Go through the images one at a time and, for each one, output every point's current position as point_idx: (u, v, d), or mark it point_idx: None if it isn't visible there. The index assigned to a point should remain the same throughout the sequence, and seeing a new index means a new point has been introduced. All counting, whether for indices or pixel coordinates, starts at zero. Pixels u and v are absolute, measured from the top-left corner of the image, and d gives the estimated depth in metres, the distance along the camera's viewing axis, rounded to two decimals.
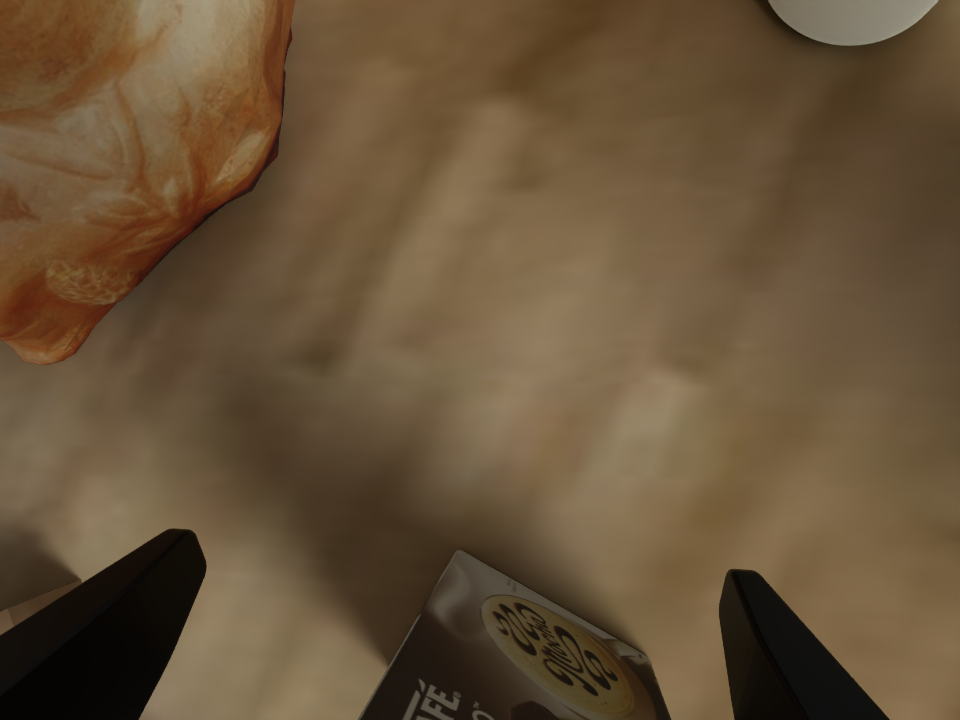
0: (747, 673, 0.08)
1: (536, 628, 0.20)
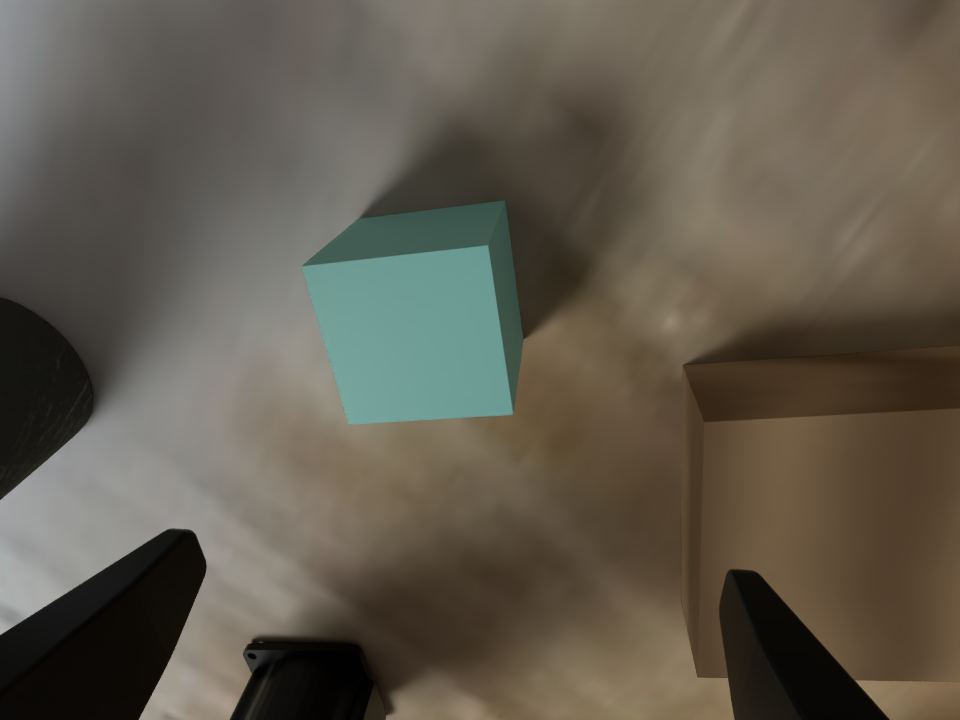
0: (747, 673, 0.08)
1: None
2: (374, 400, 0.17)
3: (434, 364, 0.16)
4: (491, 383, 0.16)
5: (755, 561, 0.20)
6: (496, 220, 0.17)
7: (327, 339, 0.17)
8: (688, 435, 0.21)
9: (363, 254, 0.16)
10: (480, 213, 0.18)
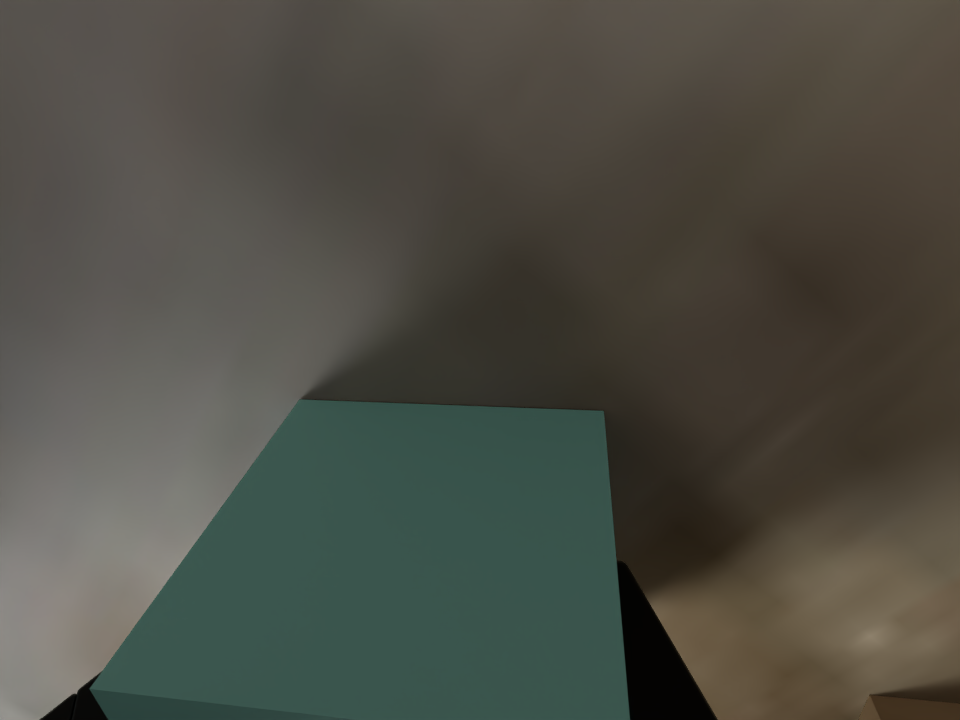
0: None
1: None
2: None
3: None
4: None
5: None
6: (610, 533, 0.07)
7: None
8: None
9: (269, 655, 0.06)
10: (561, 472, 0.08)
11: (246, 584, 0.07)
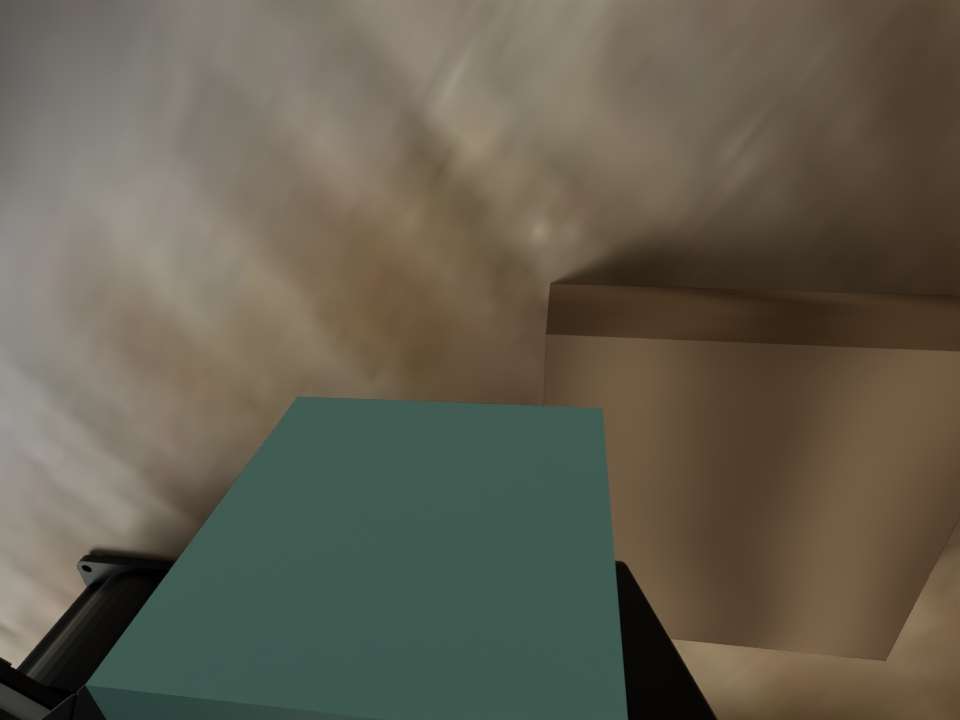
0: None
1: None
2: None
3: None
4: None
5: None
6: (609, 530, 0.07)
7: None
8: None
9: (267, 652, 0.06)
10: (559, 468, 0.08)
11: (243, 581, 0.07)
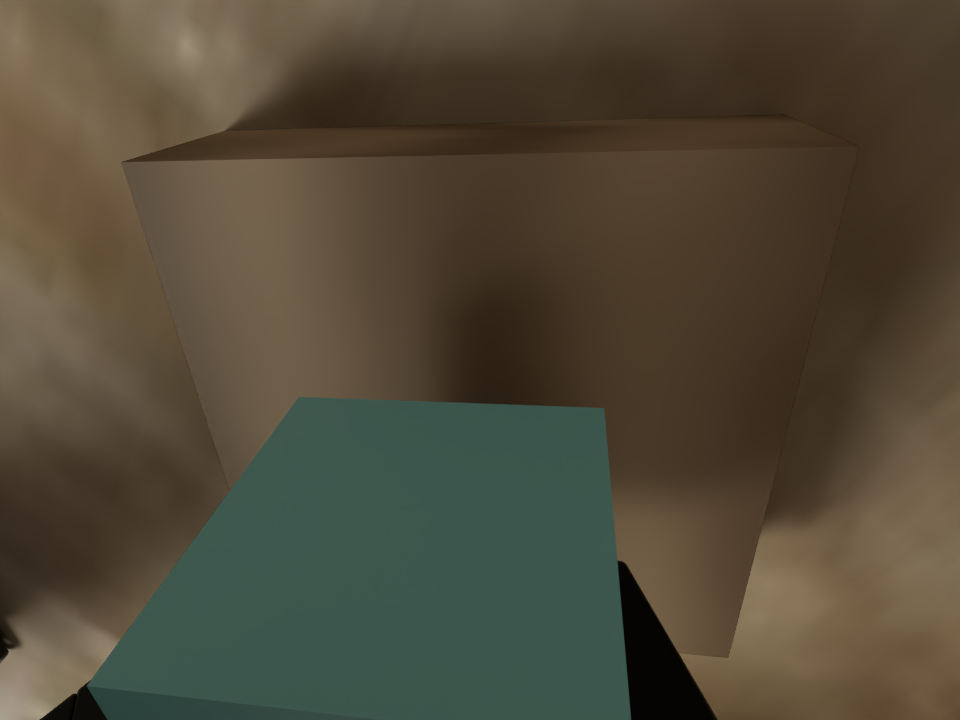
0: None
1: None
2: None
3: None
4: None
5: None
6: (611, 531, 0.07)
7: None
8: None
9: (268, 653, 0.06)
10: (561, 469, 0.08)
11: (244, 581, 0.07)
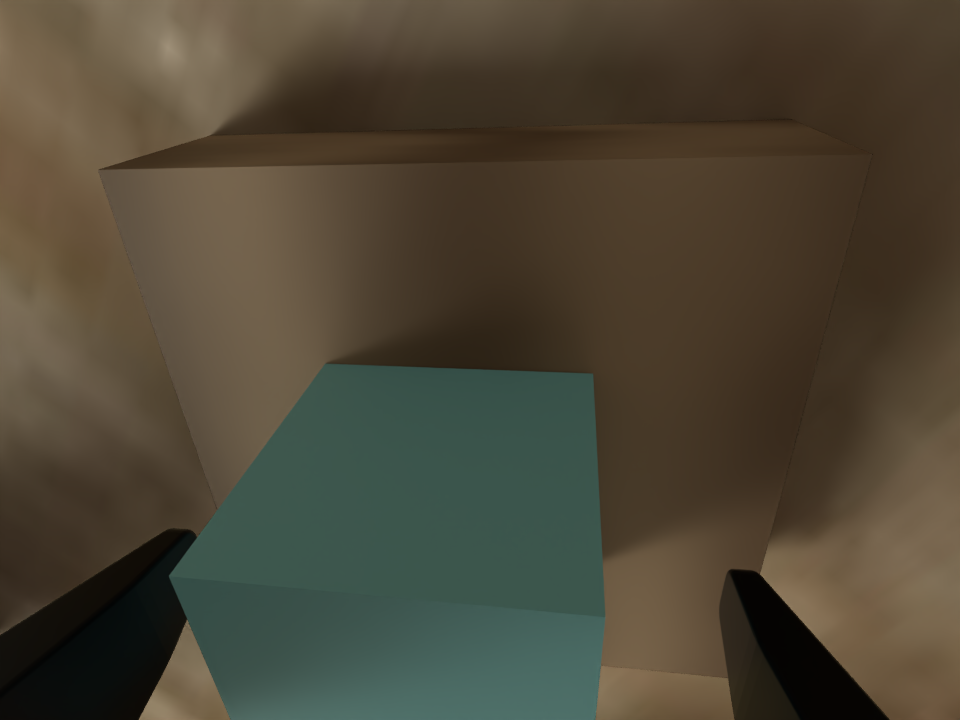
0: (747, 673, 0.08)
1: None
2: None
3: None
4: None
5: None
6: (594, 467, 0.08)
7: (225, 686, 0.08)
8: None
9: (313, 552, 0.07)
10: (554, 421, 0.09)
11: (289, 504, 0.08)
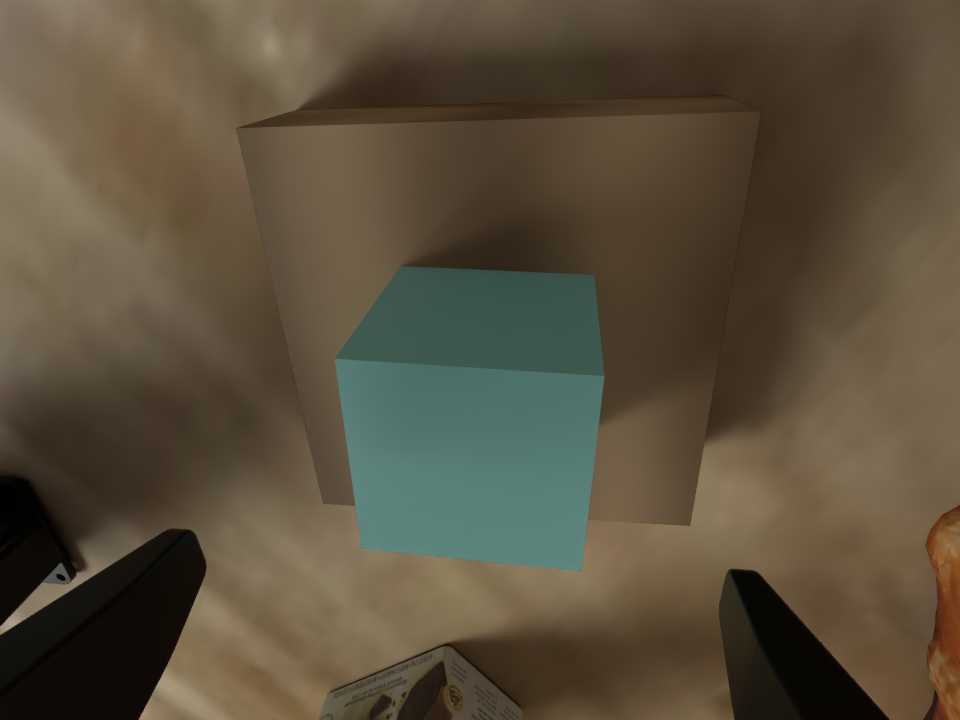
0: (747, 673, 0.08)
1: None
2: (402, 527, 0.13)
3: (491, 501, 0.12)
4: (562, 533, 0.13)
5: (344, 343, 0.17)
6: (596, 318, 0.13)
7: (353, 450, 0.12)
8: None
9: (422, 351, 0.11)
10: (568, 297, 0.14)
11: (399, 331, 0.12)
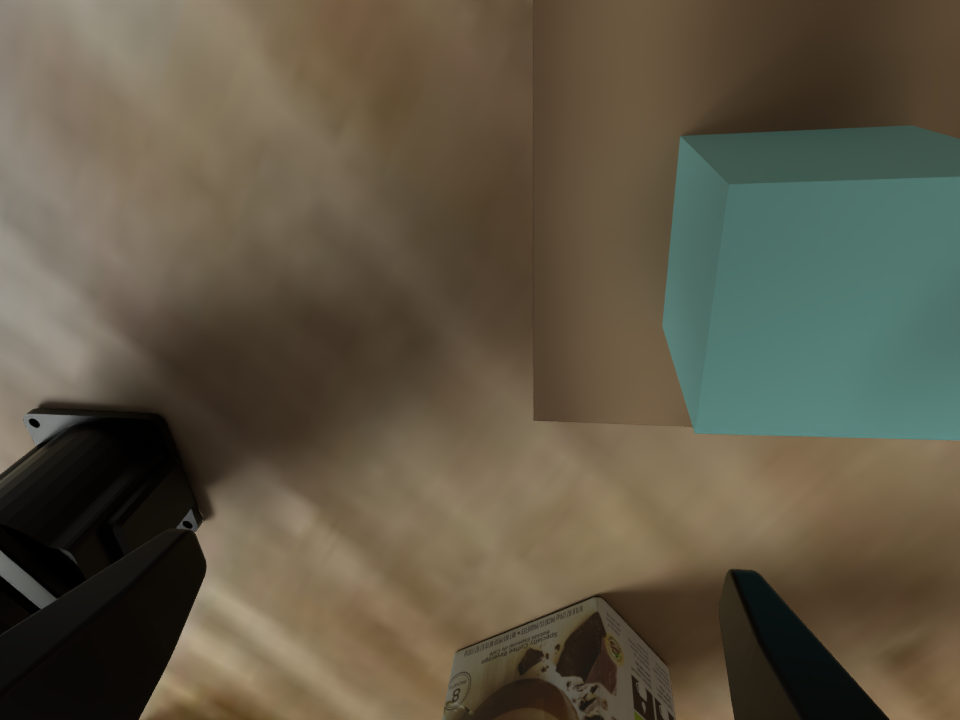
0: (747, 673, 0.08)
1: None
2: (754, 402, 0.12)
3: (878, 357, 0.11)
4: (957, 392, 0.11)
5: (602, 226, 0.15)
6: None
7: (718, 305, 0.11)
8: None
9: (820, 174, 0.10)
10: (915, 137, 0.12)
11: (765, 167, 0.11)
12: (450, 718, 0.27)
